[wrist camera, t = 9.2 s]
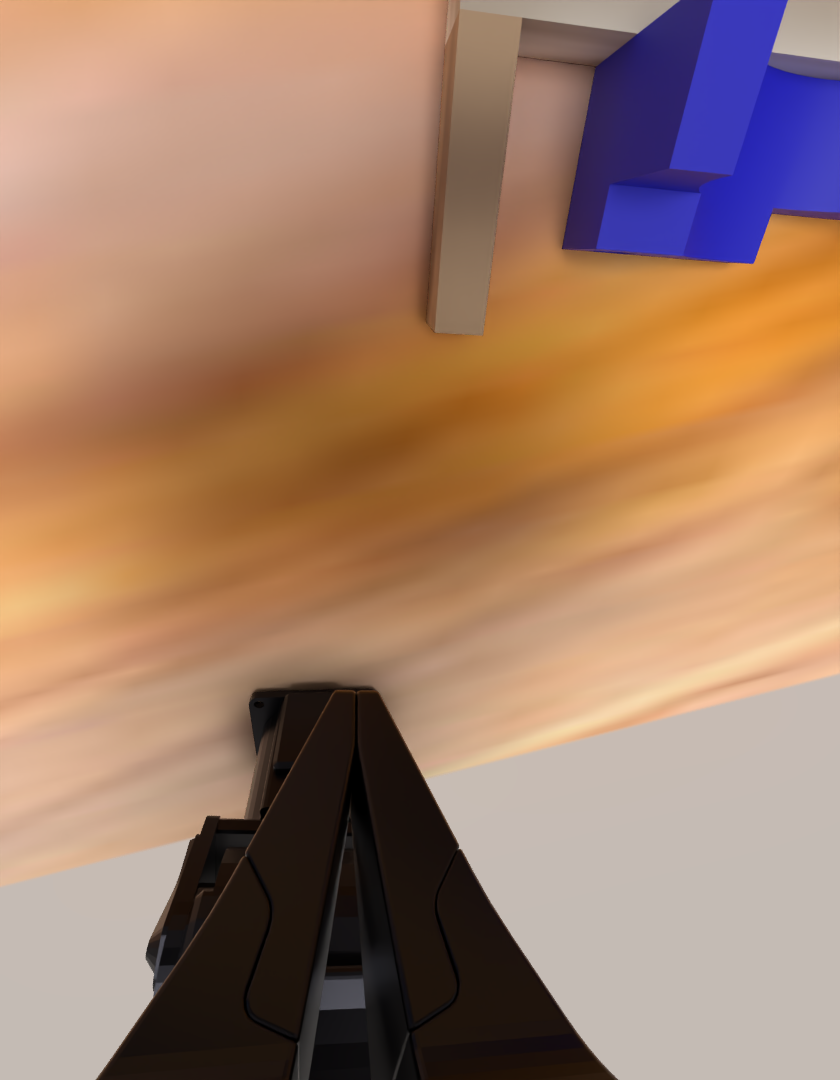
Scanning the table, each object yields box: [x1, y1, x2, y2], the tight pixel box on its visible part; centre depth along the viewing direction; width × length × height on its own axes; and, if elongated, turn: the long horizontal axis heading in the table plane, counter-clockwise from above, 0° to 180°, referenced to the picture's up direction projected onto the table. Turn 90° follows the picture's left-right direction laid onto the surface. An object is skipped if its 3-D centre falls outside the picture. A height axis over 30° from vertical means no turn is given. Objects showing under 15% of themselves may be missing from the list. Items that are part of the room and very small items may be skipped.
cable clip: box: [562, 0, 840, 264], centre depth 13 cm, size 12×4×6 cm, turn 86°
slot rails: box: [426, 0, 840, 336], centre depth 15 cm, size 8×19×2 cm, turn 86°
